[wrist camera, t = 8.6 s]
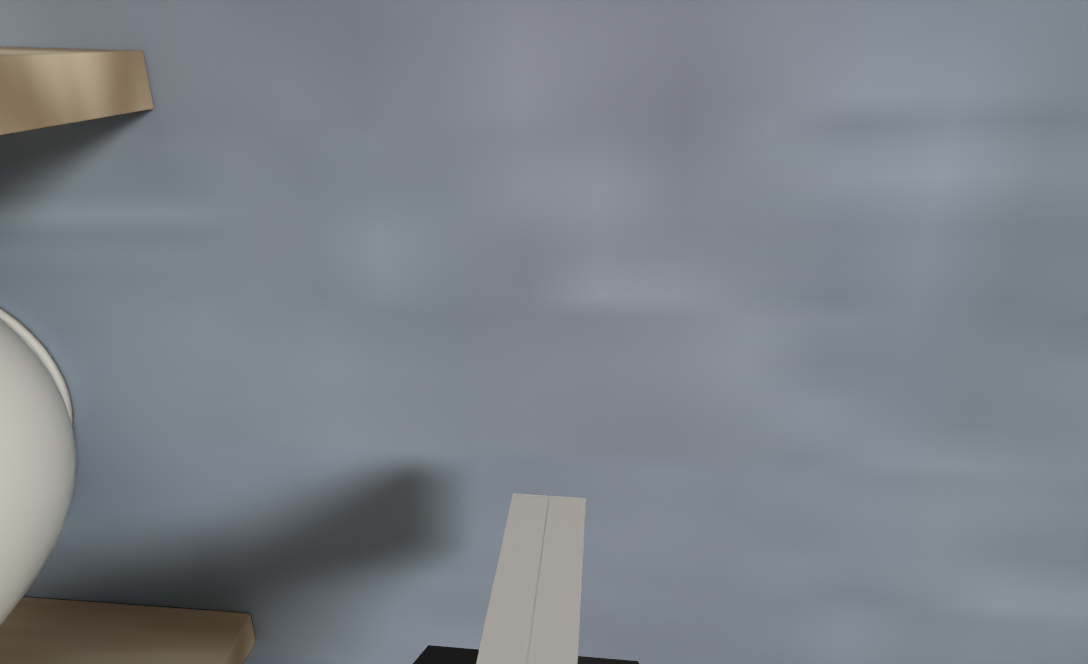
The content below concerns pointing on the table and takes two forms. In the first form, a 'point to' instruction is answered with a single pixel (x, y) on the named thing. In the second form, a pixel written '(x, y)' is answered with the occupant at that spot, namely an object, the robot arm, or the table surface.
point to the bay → (77, 626)
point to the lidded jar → (31, 458)
